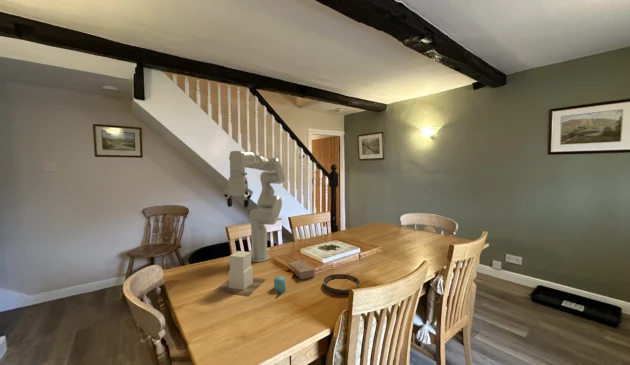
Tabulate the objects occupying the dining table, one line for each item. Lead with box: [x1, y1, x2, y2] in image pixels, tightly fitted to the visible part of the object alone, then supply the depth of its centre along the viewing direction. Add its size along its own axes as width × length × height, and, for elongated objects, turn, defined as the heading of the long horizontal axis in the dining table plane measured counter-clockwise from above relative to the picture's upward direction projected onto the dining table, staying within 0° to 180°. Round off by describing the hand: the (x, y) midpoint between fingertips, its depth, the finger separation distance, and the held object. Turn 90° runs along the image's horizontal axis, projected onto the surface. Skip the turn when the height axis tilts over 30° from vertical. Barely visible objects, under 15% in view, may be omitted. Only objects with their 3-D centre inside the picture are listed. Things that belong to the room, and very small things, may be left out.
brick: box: [288, 260, 315, 280], centre depth 140 cm, size 17×8×5 cm, turn 30°
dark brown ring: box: [322, 273, 361, 294], centre depth 124 cm, size 18×18×3 cm
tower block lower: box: [228, 265, 254, 290], centre depth 122 cm, size 8×8×8 cm
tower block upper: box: [229, 250, 252, 272], centre depth 122 cm, size 7×7×7 cm
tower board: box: [213, 276, 267, 298], centre depth 123 cm, size 18×18×2 cm
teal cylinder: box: [273, 275, 286, 295], centre depth 120 cm, size 5×5×6 cm
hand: (238, 206), depth 136 cm, fingers open, 9 cm apart
